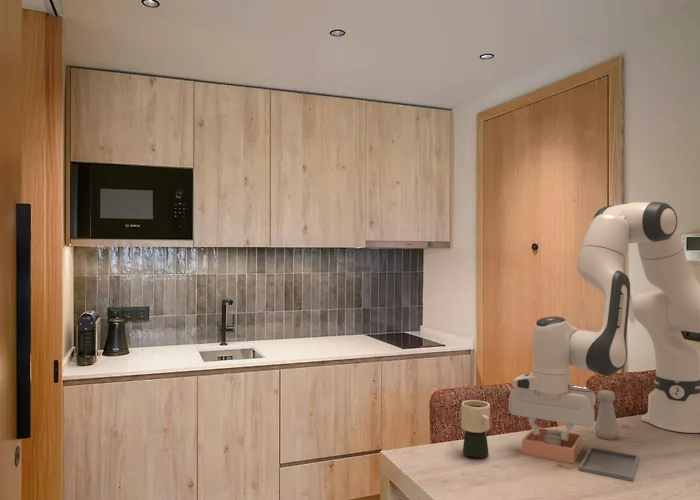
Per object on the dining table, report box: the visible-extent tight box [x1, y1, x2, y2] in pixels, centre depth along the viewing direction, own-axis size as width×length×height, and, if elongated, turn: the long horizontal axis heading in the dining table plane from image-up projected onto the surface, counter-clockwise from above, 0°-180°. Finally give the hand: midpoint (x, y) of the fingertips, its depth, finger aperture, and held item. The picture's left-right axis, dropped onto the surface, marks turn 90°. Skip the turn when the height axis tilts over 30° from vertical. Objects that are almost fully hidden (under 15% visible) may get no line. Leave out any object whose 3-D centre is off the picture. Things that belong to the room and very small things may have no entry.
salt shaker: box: [594, 389, 619, 440], centre depth 149 cm, size 6×6×13 cm
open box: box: [521, 426, 584, 465], centre depth 139 cm, size 12×12×4 cm
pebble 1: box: [544, 434, 562, 446], centre depth 136 cm, size 4×4×4 cm
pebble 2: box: [547, 429, 563, 446], centre depth 141 cm, size 4×4×4 cm
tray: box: [578, 446, 640, 483], centre depth 130 cm, size 15×11×1 cm
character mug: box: [460, 399, 491, 458], centre depth 137 cm, size 11×7×13 cm, turn 20°
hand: (550, 437), depth 137 cm, fingers open, 5 cm apart
